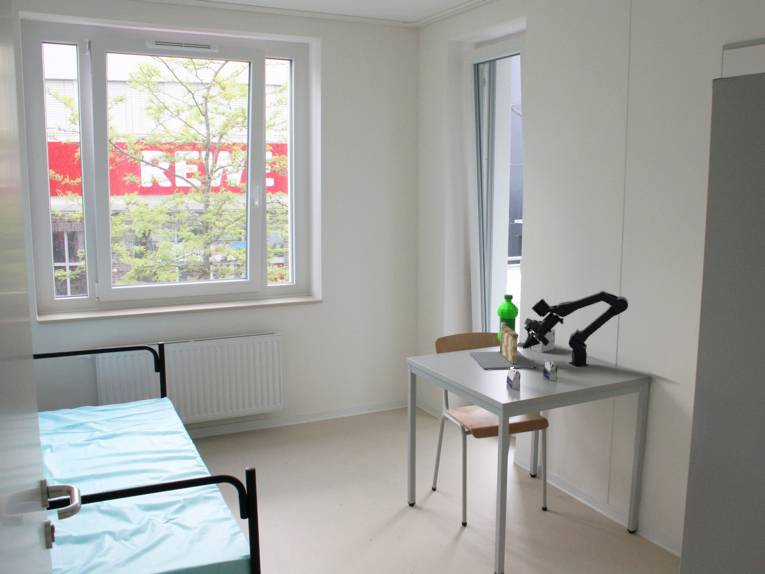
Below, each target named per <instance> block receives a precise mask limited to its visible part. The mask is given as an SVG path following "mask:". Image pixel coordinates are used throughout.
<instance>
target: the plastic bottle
mask: <svg viewBox="0 0 765 574" xmlns="http://www.w3.org/2000/svg"><path fill="white" fill-rule="evenodd" d="M503 298H504V302H503V303H502V304H500V305H499V306H498V308H497V315H498V317H499V331H498V333H497V340H498V341H499V342H500V333H501V323H502V322H504V323H506V326H508V327H509V328H510V329H512V330H513V331H514V332H516V319H517V317H518V316H519V308H518V306H516V305H515V303H514V302H513V301H512V300H513V298H514V295H513V294H504V297H503Z"/></svg>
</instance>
